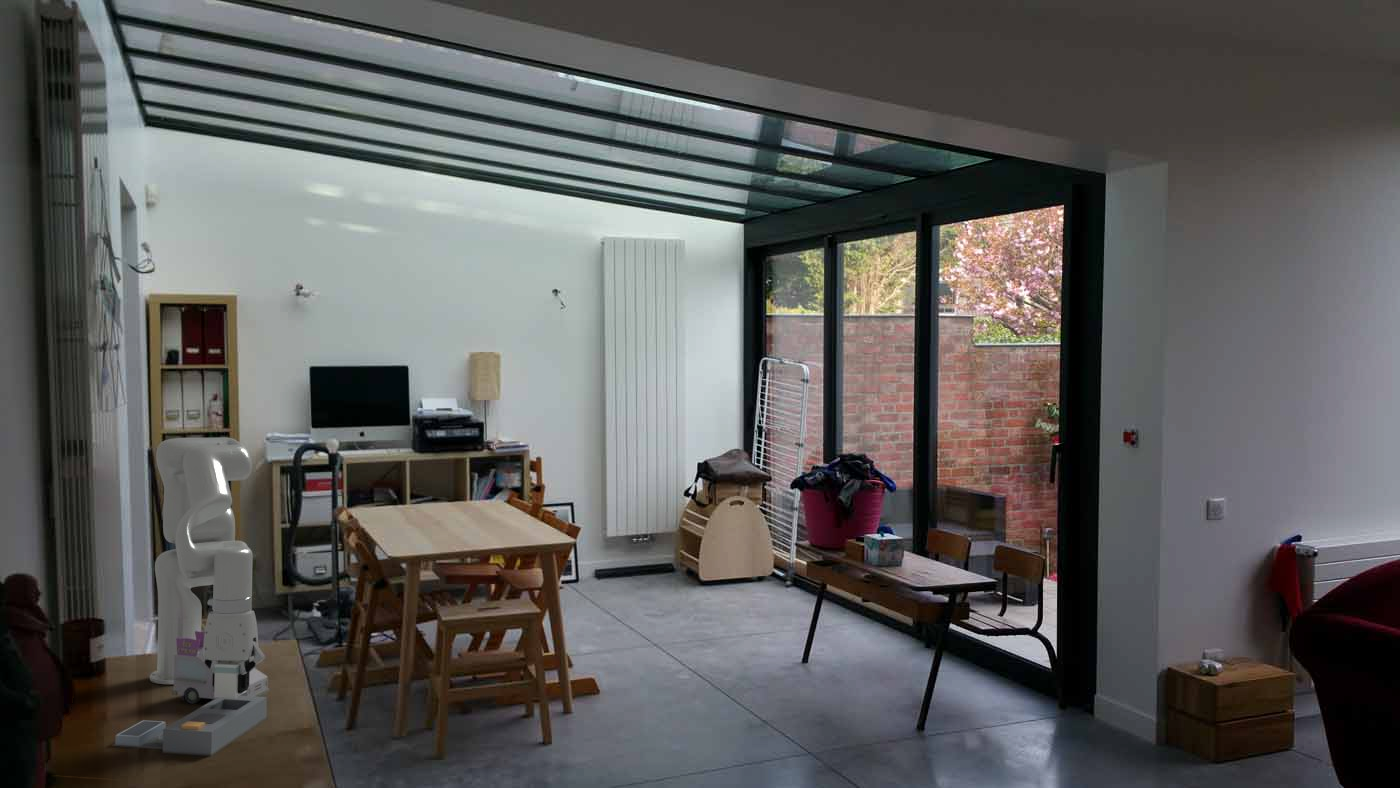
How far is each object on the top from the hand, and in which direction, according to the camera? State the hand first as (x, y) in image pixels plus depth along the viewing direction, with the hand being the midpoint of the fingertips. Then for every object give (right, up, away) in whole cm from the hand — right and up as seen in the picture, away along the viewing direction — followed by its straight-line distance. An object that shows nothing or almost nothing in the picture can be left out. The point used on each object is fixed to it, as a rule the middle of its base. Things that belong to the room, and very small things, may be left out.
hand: (230, 689), depth 220 cm
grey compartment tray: (-1, -8, -5) cm, 9 cm away
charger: (0, -1, 0) cm, 1 cm away
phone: (-15, -8, -8) cm, 18 cm away
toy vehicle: (-10, -8, +17) cm, 21 cm away
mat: (-12, -8, -8) cm, 16 cm away
